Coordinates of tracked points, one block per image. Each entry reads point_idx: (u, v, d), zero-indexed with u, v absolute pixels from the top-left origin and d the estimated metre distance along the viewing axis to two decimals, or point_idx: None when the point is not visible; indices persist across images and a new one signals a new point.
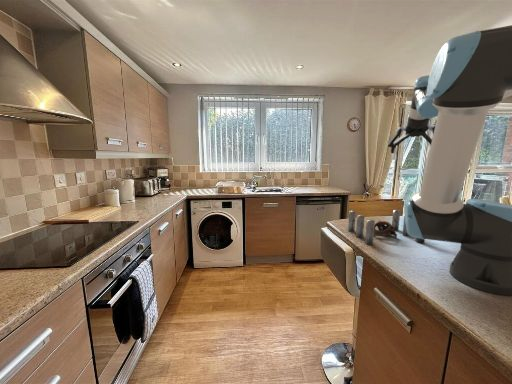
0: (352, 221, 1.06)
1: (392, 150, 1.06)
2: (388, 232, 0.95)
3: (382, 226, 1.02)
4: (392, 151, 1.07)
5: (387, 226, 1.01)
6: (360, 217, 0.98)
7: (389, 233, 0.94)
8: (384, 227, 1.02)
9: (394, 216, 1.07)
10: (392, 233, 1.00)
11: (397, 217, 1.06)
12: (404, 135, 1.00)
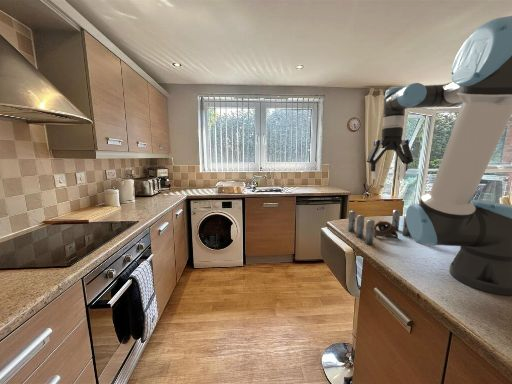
0: (352, 221, 1.06)
1: (373, 167, 0.95)
2: (389, 232, 0.94)
3: (383, 226, 1.02)
4: (373, 169, 0.95)
5: (388, 226, 1.01)
6: (360, 217, 0.98)
7: (390, 233, 0.94)
8: (385, 227, 1.02)
9: (394, 216, 1.07)
10: (393, 233, 1.00)
11: (397, 217, 1.06)
12: (382, 149, 0.94)
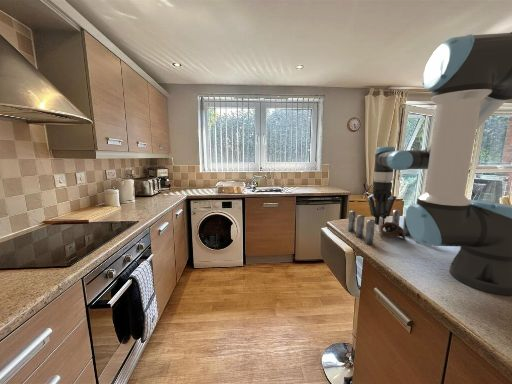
0: (352, 221, 1.06)
1: (377, 221, 1.02)
2: (396, 233, 0.92)
3: (389, 227, 1.00)
4: (377, 222, 1.02)
5: (395, 227, 0.99)
6: (360, 217, 0.98)
7: (397, 234, 0.92)
8: (392, 228, 1.00)
9: (394, 216, 1.07)
10: (400, 234, 0.98)
11: (397, 217, 1.06)
12: (377, 202, 1.01)
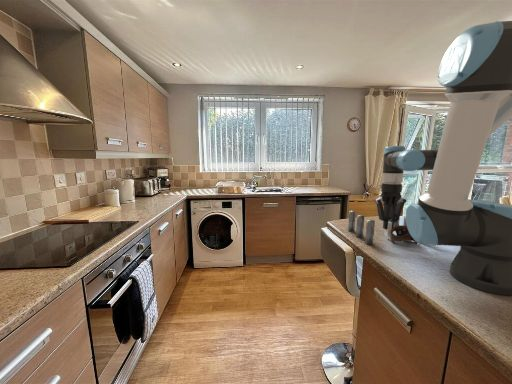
0: (352, 221, 1.06)
1: (386, 225, 0.96)
2: (408, 238, 0.88)
3: (400, 231, 0.96)
4: (386, 227, 0.96)
5: (406, 231, 0.94)
6: (360, 217, 0.98)
7: (409, 239, 0.88)
8: (403, 232, 0.95)
9: None
10: (412, 238, 0.93)
11: None
12: (386, 206, 0.95)
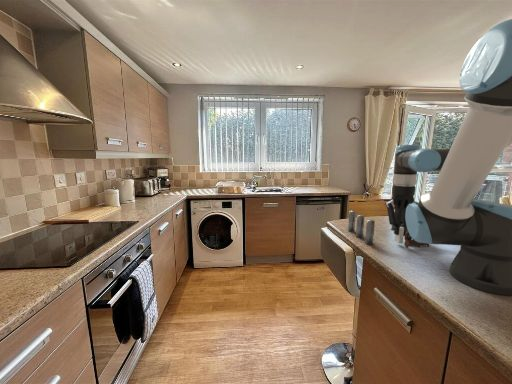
0: (352, 221, 1.06)
1: (397, 231, 0.89)
2: None
3: None
4: (397, 232, 0.89)
5: None
6: (360, 217, 0.98)
7: None
8: None
9: None
10: None
11: None
12: (397, 209, 0.88)
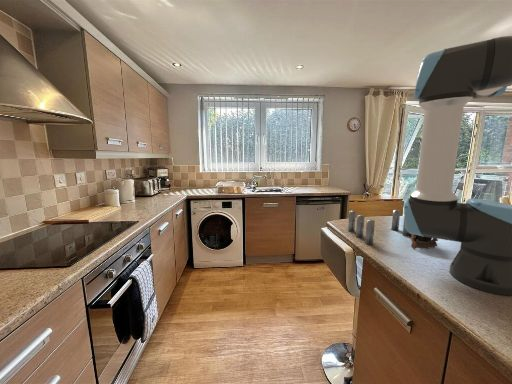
0: (352, 221, 1.06)
1: None
2: (434, 243, 0.83)
3: (416, 235, 0.90)
4: None
5: None
6: (360, 217, 0.98)
7: (435, 244, 0.83)
8: (417, 236, 0.91)
9: (394, 216, 1.07)
10: (427, 242, 0.90)
11: (397, 217, 1.06)
12: None
